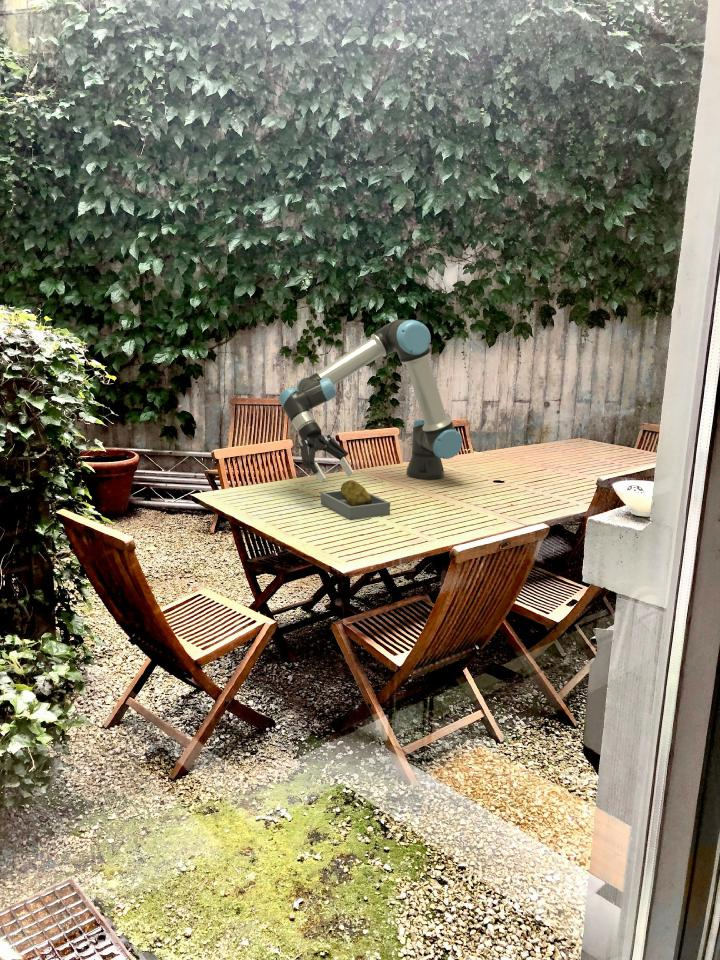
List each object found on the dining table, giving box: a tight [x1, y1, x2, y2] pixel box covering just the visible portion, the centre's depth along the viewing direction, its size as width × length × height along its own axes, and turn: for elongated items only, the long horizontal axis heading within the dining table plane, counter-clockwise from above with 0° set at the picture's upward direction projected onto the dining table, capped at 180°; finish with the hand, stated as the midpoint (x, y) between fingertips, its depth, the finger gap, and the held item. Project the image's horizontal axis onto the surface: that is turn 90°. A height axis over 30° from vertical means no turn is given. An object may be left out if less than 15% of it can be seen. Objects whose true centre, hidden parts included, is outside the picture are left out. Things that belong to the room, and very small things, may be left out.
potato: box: [340, 480, 372, 507], centre depth 234 cm, size 8×13×8 cm, turn 19°
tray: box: [320, 490, 391, 521], centre depth 235 cm, size 20×15×4 cm
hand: (337, 477), depth 238 cm, fingers open, 13 cm apart
